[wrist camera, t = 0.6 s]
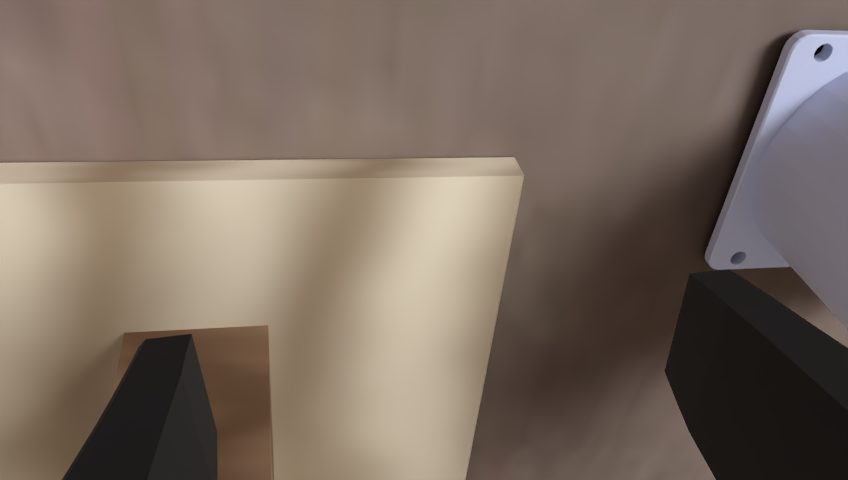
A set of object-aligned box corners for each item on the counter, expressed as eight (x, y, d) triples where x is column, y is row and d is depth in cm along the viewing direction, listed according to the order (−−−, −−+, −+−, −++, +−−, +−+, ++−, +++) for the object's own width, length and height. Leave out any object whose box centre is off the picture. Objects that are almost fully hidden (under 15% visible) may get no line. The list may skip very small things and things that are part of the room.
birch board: (514, 157, 22) (524, 175, 21) (452, 501, 31) (457, 522, 30) (-518, 168, 17) (-556, 192, 16) (-226, 568, 26) (-241, 596, 26)
